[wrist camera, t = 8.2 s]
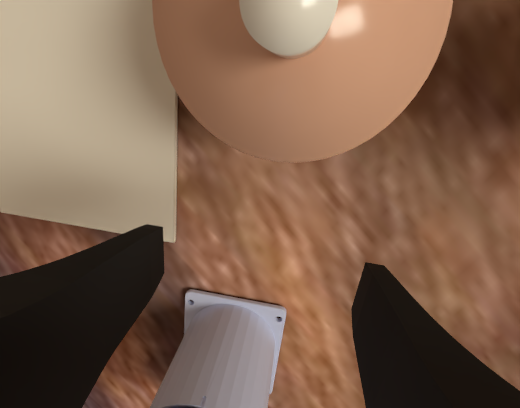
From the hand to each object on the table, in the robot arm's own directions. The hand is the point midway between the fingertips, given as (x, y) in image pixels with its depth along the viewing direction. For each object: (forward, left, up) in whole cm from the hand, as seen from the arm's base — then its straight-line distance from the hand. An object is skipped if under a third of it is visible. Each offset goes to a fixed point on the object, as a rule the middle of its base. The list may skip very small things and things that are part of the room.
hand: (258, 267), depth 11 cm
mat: (+2, +14, -10) cm, 18 cm away
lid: (+8, 0, -4) cm, 9 cm away
